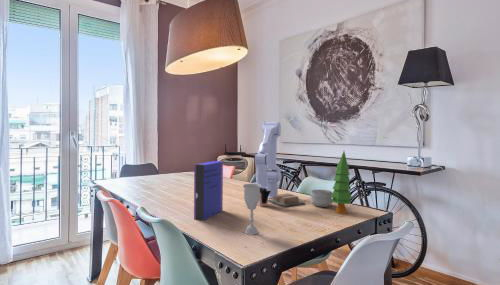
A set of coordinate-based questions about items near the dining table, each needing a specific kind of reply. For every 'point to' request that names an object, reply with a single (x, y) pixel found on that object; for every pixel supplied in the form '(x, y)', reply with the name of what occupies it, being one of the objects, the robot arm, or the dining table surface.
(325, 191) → the teacup
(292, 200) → the base
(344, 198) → the decorative tree
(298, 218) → the dining table surface
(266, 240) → the dining table surface
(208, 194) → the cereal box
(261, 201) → the coral block
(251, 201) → the chalice
